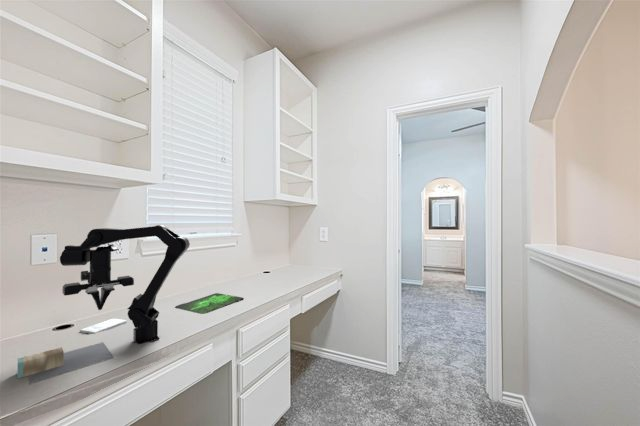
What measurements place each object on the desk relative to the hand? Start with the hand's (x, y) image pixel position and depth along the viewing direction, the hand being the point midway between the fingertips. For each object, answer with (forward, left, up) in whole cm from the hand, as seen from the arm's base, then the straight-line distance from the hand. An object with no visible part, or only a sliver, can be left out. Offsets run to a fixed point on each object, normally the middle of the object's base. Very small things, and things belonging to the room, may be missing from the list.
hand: (99, 309), depth 94 cm
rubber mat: (+8, +8, -12) cm, 16 cm away
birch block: (+10, +8, -10) cm, 16 cm away
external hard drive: (-5, -18, -13) cm, 22 cm away
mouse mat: (-48, -16, -13) cm, 52 cm away
